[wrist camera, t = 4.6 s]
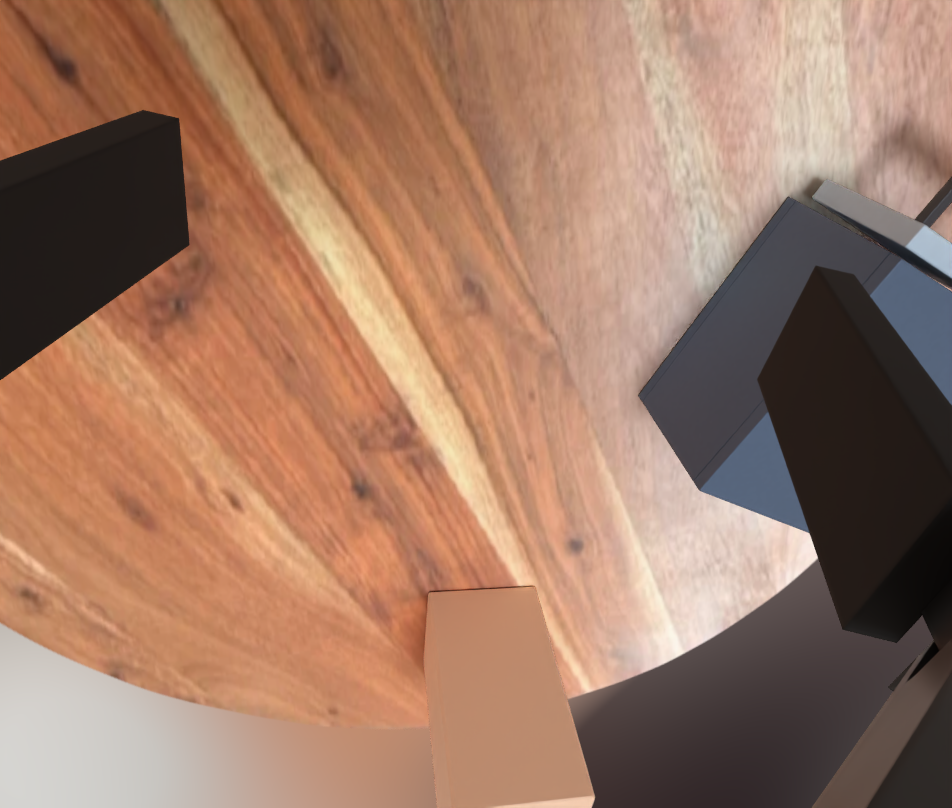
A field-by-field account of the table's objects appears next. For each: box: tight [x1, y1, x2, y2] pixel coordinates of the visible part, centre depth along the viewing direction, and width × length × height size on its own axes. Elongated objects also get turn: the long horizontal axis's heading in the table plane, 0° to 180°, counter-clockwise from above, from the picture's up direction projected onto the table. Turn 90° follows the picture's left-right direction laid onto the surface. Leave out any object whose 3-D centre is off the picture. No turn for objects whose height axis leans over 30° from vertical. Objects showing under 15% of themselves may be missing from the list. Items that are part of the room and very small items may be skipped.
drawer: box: [812, 177, 952, 289], centre depth 37 cm, size 18×11×8 cm, turn 151°
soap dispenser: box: [423, 587, 595, 808], centre depth 46 cm, size 13×9×22 cm
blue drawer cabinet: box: [638, 197, 952, 533], centre depth 39 cm, size 15×13×10 cm
